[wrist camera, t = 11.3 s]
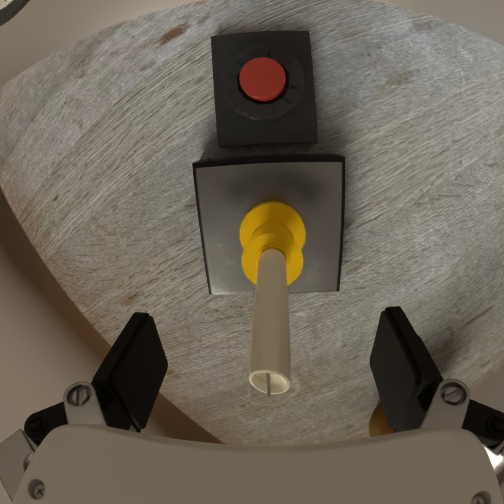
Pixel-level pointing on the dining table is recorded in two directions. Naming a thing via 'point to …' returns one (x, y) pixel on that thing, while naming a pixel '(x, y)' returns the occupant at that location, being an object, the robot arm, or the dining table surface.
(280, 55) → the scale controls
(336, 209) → the scale
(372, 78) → the dining table surface
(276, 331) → the candle
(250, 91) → the button
